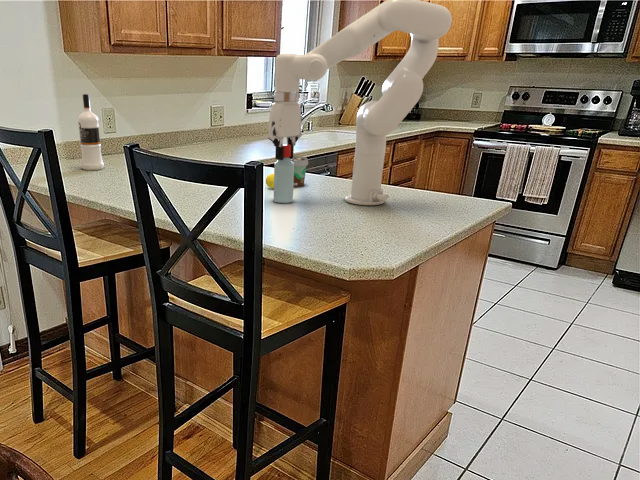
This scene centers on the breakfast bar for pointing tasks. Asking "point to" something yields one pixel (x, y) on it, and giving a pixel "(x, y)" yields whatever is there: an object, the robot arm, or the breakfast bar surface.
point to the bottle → (283, 180)
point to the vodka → (89, 138)
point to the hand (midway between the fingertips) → (284, 158)
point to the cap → (287, 150)
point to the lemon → (270, 181)
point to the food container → (299, 170)
